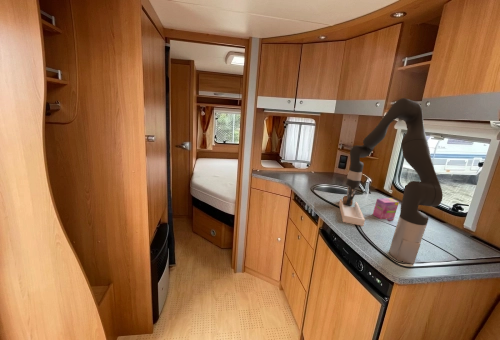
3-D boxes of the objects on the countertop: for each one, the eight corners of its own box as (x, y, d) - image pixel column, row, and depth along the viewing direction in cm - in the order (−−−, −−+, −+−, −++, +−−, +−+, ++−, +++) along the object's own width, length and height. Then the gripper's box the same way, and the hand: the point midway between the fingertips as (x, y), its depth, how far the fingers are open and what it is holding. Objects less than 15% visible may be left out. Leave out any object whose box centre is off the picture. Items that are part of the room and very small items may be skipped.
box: (379, 221, 125) (384, 202, 122) (371, 216, 130) (376, 198, 127) (393, 220, 128) (399, 201, 124) (385, 216, 133) (390, 197, 130)
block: (352, 204, 137) (352, 197, 139) (343, 203, 139) (344, 195, 140) (350, 206, 142) (351, 199, 144) (342, 205, 143) (342, 197, 145)
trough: (362, 228, 115) (364, 219, 113) (342, 224, 117) (344, 215, 116) (355, 209, 138) (357, 202, 137) (338, 206, 141) (340, 199, 139)
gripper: (362, 182, 126) (356, 210, 130) (358, 176, 138) (352, 202, 142) (348, 180, 128) (342, 207, 132) (346, 174, 140) (340, 199, 144)
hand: (348, 204), depth 137 cm, fingers closed
